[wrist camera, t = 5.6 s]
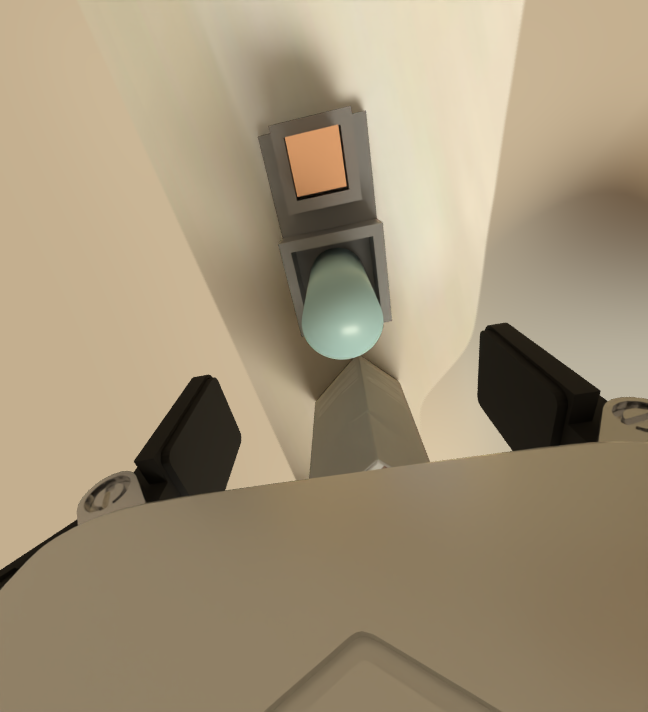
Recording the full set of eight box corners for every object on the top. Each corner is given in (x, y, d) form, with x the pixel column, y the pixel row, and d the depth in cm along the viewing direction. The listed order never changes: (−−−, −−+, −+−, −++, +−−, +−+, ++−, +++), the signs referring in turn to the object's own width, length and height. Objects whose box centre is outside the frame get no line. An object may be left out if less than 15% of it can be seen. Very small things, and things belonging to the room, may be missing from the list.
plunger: (342, 185, 24) (346, 186, 20) (302, 194, 24) (297, 196, 20) (335, 136, 22) (338, 124, 18) (292, 146, 23) (284, 137, 18)
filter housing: (384, 305, 30) (391, 321, 27) (304, 319, 31) (301, 336, 27) (364, 113, 23) (371, 100, 19) (260, 138, 24) (249, 130, 20)
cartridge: (367, 295, 29) (387, 352, 19) (316, 305, 29) (311, 365, 20) (359, 242, 26) (378, 276, 17) (305, 253, 27) (292, 293, 17)
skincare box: (355, 425, 38) (373, 565, 24) (308, 397, 36) (297, 532, 22) (404, 379, 34) (457, 510, 21) (354, 345, 32) (377, 466, 19)
